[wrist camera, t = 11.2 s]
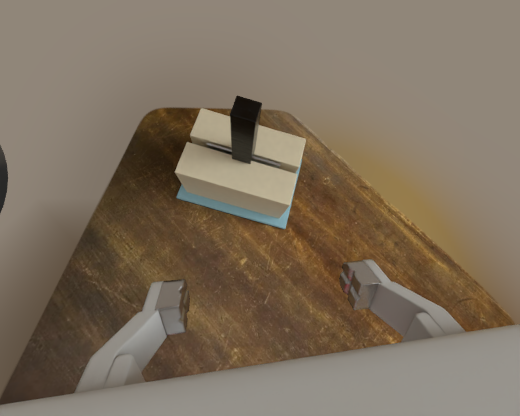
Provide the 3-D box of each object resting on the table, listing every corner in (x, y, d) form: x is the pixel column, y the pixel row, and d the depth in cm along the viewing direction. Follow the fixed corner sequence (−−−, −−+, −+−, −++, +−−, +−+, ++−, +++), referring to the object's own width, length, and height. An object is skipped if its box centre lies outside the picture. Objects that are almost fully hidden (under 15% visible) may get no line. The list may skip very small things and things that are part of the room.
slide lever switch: (177, 198, 29) (160, 178, 23) (203, 132, 32) (195, 97, 25) (284, 229, 29) (297, 217, 23) (300, 161, 32) (316, 133, 26)
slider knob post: (210, 174, 29) (190, 102, 17) (214, 162, 30) (198, 83, 18) (270, 191, 30) (294, 133, 17) (273, 179, 30) (299, 113, 18)
